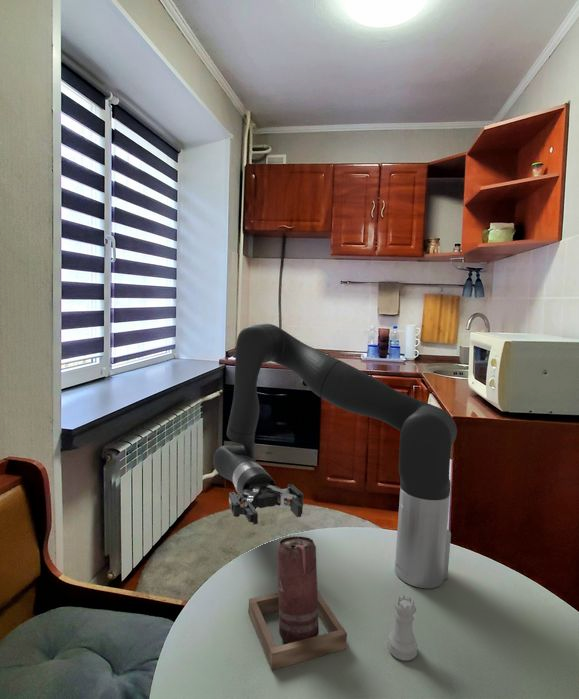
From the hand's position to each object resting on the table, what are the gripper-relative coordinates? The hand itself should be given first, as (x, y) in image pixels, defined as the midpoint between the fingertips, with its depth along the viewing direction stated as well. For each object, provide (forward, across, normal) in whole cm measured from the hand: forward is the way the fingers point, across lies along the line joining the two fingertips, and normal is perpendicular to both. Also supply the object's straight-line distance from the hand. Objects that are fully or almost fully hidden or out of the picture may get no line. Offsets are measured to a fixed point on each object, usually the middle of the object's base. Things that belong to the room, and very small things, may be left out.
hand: (278, 515), depth 77 cm
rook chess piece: (+20, +13, +14) cm, 28 cm away
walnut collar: (+11, -1, +14) cm, 18 cm away
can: (+13, -1, +13) cm, 19 cm away
